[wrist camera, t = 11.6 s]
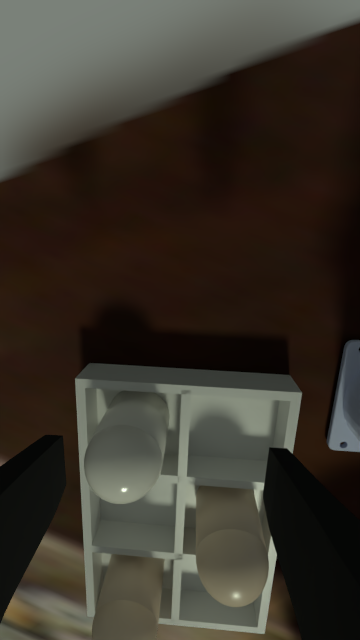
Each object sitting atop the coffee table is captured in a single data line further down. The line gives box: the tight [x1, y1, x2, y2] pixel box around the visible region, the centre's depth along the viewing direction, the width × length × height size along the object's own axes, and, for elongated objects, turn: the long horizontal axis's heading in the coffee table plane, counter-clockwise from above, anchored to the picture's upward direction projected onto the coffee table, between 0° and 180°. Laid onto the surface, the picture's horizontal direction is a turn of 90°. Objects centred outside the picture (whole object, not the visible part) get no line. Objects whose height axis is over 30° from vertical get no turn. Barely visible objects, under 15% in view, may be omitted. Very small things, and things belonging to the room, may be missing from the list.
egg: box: [84, 390, 170, 504], centre depth 18 cm, size 4×4×7 cm
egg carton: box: [75, 363, 302, 640], centre depth 20 cm, size 14×20×7 cm
